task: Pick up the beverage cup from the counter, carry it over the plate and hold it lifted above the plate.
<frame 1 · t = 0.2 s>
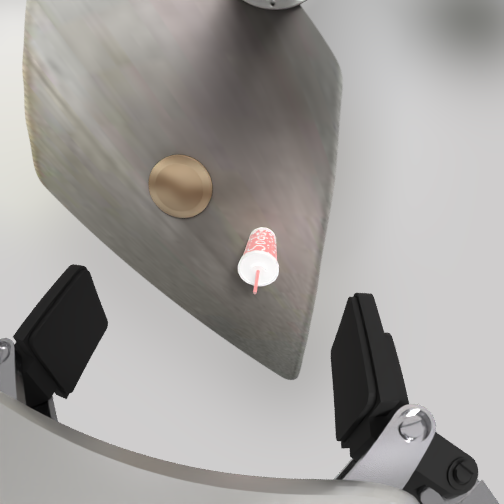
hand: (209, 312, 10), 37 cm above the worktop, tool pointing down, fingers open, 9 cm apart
beverage cup: (262, 238, 51), on the worktop
plate: (180, 186, 47), on the worktop
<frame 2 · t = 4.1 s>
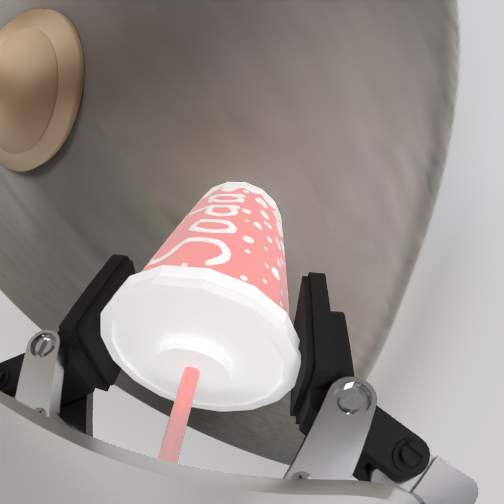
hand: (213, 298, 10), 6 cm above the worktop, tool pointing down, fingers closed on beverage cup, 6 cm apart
beverage cup: (238, 220, 16), on the worktop, touching gripper
plate: (23, 89, 12), on the worktop
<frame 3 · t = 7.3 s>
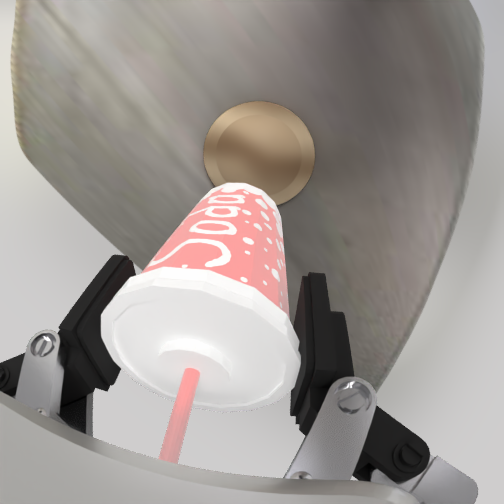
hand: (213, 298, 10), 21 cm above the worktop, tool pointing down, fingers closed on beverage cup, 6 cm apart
beverage cup: (238, 221, 16), point 15 cm above the worktop, touching gripper
plate: (259, 154, 28), on the worktop
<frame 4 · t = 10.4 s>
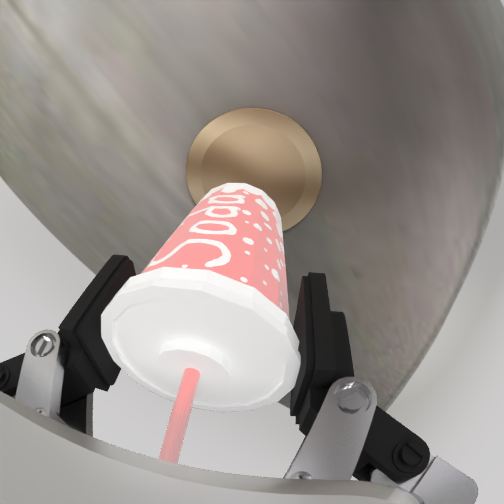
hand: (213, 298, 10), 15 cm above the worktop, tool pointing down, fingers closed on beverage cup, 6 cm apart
beverage cup: (238, 221, 16), point 9 cm above the worktop, touching gripper
plate: (253, 173, 23), on the worktop
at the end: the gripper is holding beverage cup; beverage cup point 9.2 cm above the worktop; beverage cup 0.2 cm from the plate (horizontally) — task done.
